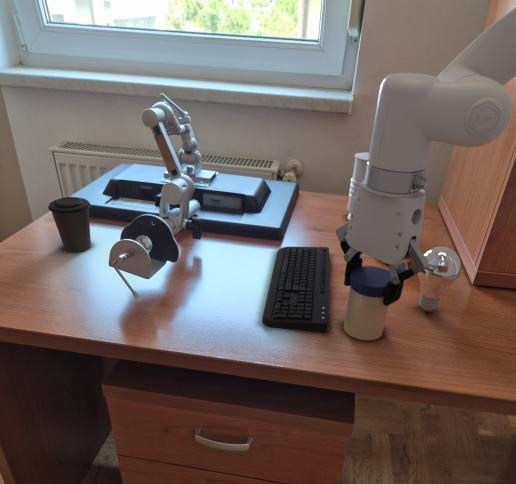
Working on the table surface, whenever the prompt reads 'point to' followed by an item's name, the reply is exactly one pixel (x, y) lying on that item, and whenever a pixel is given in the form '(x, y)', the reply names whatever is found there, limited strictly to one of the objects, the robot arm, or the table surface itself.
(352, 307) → the jar
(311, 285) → the keyboard
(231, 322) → the table surface
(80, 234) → the coffee cup
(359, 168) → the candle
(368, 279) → the lid
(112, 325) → the table surface
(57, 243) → the table surface
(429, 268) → the light bulb
